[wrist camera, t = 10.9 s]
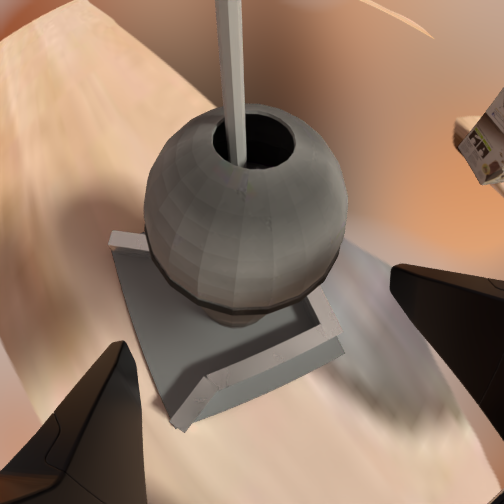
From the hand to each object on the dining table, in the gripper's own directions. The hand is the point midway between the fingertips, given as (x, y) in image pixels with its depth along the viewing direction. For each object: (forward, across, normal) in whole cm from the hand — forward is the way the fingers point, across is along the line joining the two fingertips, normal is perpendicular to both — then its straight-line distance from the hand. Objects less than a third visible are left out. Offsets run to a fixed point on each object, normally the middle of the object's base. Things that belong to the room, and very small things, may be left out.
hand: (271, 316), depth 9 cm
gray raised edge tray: (+11, +1, +6) cm, 13 cm away
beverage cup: (+11, 0, +6) cm, 13 cm away
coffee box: (+17, -37, +1) cm, 40 cm away
